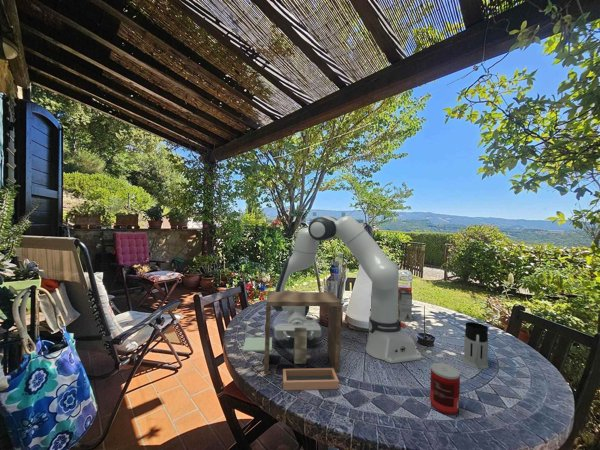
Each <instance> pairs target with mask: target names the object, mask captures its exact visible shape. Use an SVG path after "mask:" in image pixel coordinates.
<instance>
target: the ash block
mask: <svg viewBox="0 0 600 450" xmlns="http://www.w3.org/2000/svg"><path fill="white" fill-rule="evenodd" d="M307 344H308V338H307V330H306V328H295V332H294V338H293V362H294V364H295V365H297V364H300V365H301V364H302V365H303V364H304V365H305V364H307V354H308V353H307V351H308V349H307V347H308V345H307Z"/></svg>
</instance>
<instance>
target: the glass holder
mask: <svg viewBox="0 0 600 450" xmlns="http://www.w3.org/2000/svg"><path fill="white" fill-rule="evenodd" d="M464 331H465V332H464V348H463V358H462V361H463V362H464V364H466V365H468V366H470V367H473V368H477V369H483V370H486V369H488V368H490V367H489V364H488V358H489V357H488V356H489V354H488V351H489V338H488V336H489V335H488V334H489V327H488V326H487V325H485V324H482V323H479V322H472V321H471V322H470V321H469V322H465V330H464Z"/></svg>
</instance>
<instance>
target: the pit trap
mask: <svg viewBox="0 0 600 450" xmlns="http://www.w3.org/2000/svg"><path fill="white" fill-rule="evenodd" d="M282 387H283V388H282V390H283V391H305V390H306V391H309V390H310V391H311V390H339V387H340V380H339V378H338V376H337V373H335V370H334V368H333V367H325V368H324V367H321V368H319V367H316V368H315V367H314V368H312V367H311V368H282Z"/></svg>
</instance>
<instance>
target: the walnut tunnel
mask: <svg viewBox="0 0 600 450" xmlns="http://www.w3.org/2000/svg"><path fill="white" fill-rule="evenodd" d="M265 302H266V304H265V305H266V307H265V308H266V309H265V331H264V332H265V335H264V338H265V351H264V365H263V366H264V367H263V369H264V370H263V375H269V370H270V368H269V367H270V351H269V345H270V338H271V315H272V314H271V313H272V309H271V308H272V306H309V307H328V328H327V330H328V331H327V333H328V334H327V356H328V357H327V358H328V359H329V360H330V364H331V366H332V368H334V370H335V373H336V374H338V373H340V360H341V359H340V358H341V353H340V352H341V329H342V327H341V325H342V301H341V299H339V297H338V296H337V295H336V294H335V293H334V292H332V291H331V292H325V291H324V292H320V291H318V292H317V291H312V292H311V291H307V292H306V291H294V292H274V291H267V293H266V301H265Z"/></svg>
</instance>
